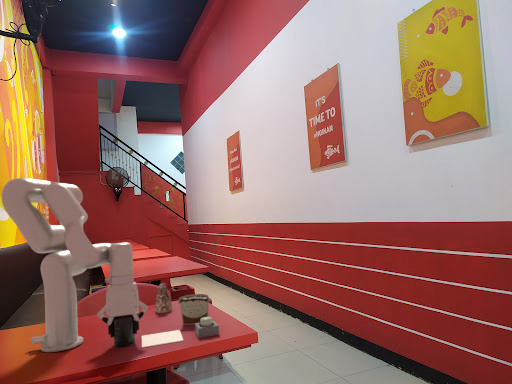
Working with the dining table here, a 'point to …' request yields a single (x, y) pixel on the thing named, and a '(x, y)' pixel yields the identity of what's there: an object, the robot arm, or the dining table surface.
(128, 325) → the supplement bottle
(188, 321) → the food container
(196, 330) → the button housing
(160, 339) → the paper sheet
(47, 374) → the dining table surface
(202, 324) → the button
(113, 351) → the dining table surface
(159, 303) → the figurine
